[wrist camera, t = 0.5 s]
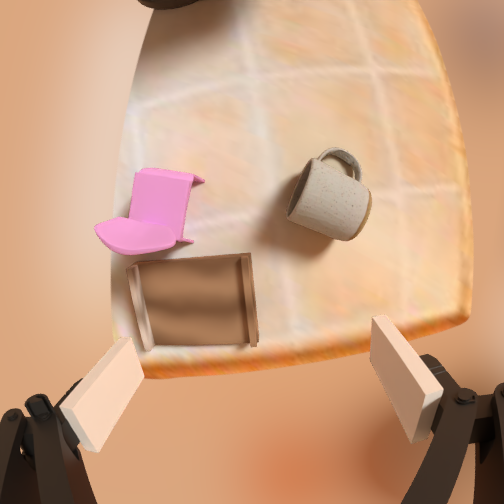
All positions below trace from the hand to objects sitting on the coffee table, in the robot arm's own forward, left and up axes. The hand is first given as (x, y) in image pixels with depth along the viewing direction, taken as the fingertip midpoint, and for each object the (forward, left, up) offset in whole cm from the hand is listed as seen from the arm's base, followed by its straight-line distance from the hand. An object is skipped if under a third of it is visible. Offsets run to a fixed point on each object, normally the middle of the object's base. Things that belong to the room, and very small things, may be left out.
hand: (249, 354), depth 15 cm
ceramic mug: (-7, +9, -24) cm, 27 cm away
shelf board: (+6, -9, -24) cm, 26 cm away
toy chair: (-7, -10, -24) cm, 27 cm away
